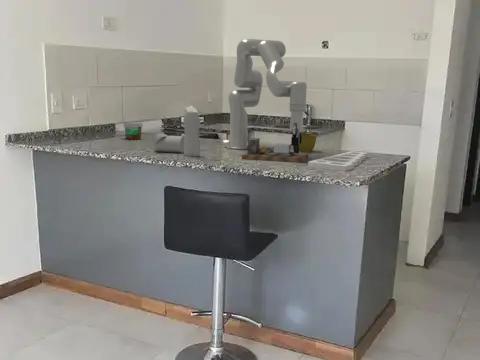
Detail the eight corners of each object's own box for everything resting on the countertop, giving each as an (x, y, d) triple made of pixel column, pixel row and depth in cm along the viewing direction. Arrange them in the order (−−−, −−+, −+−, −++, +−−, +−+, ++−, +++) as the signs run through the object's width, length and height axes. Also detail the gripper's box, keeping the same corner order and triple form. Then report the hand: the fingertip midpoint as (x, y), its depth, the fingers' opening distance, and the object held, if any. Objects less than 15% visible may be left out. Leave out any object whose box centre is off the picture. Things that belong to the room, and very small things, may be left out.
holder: (351, 156, 275) (351, 151, 275) (385, 160, 265) (385, 154, 264) (307, 167, 240) (307, 161, 239) (344, 172, 229) (345, 166, 229)
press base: (241, 159, 258) (241, 140, 256) (248, 155, 271) (249, 137, 270) (304, 162, 250) (304, 143, 249) (308, 158, 264) (309, 139, 262)
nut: (256, 154, 261) (257, 145, 260) (258, 153, 265) (259, 144, 264) (265, 154, 259) (266, 145, 259) (267, 153, 264) (267, 144, 263)
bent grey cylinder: (141, 150, 275) (178, 151, 270) (143, 129, 276) (180, 131, 271) (155, 153, 292) (190, 154, 287) (157, 133, 293) (191, 135, 288)
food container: (119, 139, 326) (119, 123, 324) (124, 138, 332) (124, 122, 330) (138, 140, 323) (137, 123, 321) (142, 139, 329) (142, 123, 327)
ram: (273, 152, 257) (274, 131, 255) (277, 150, 264) (277, 130, 262) (297, 153, 254) (298, 132, 252) (300, 151, 261) (301, 131, 259)
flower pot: (300, 152, 282) (301, 135, 281) (294, 150, 291) (295, 133, 289) (316, 152, 285) (317, 135, 283) (309, 150, 293) (310, 133, 291)
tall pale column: (181, 155, 268) (180, 110, 264) (186, 154, 271) (186, 110, 267) (197, 157, 262) (197, 111, 258) (202, 156, 265) (202, 111, 261)
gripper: (292, 107, 263) (291, 142, 266) (286, 109, 246) (285, 146, 250) (308, 107, 261) (306, 142, 264) (302, 109, 244) (301, 147, 248)
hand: (296, 144), depth 257 cm, fingers open, 9 cm apart
